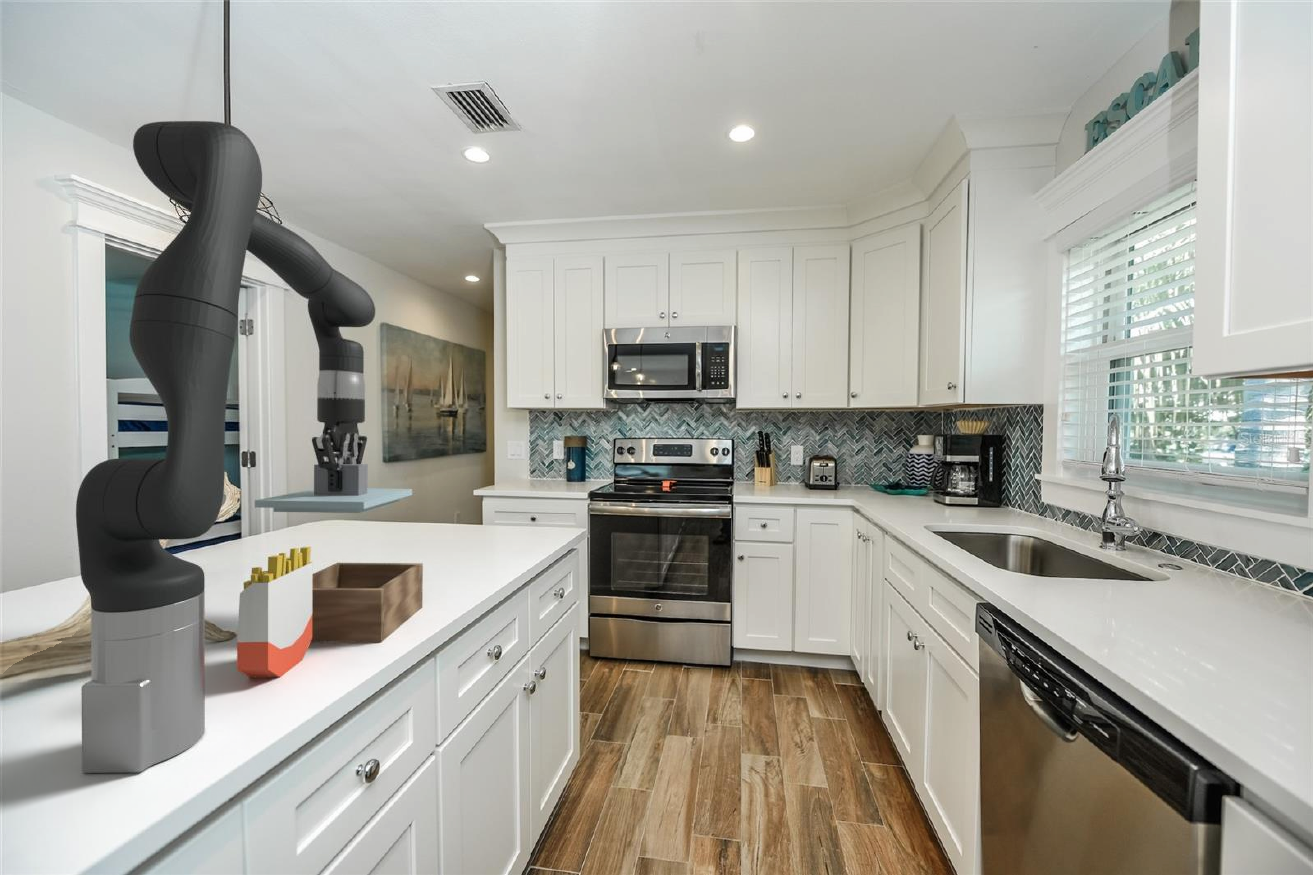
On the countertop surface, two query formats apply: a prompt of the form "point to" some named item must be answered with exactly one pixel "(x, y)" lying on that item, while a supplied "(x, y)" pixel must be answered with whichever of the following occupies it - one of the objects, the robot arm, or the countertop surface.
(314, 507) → the lid
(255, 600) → the french fries container
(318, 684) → the countertop surface
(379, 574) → the wooden box
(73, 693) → the countertop surface
